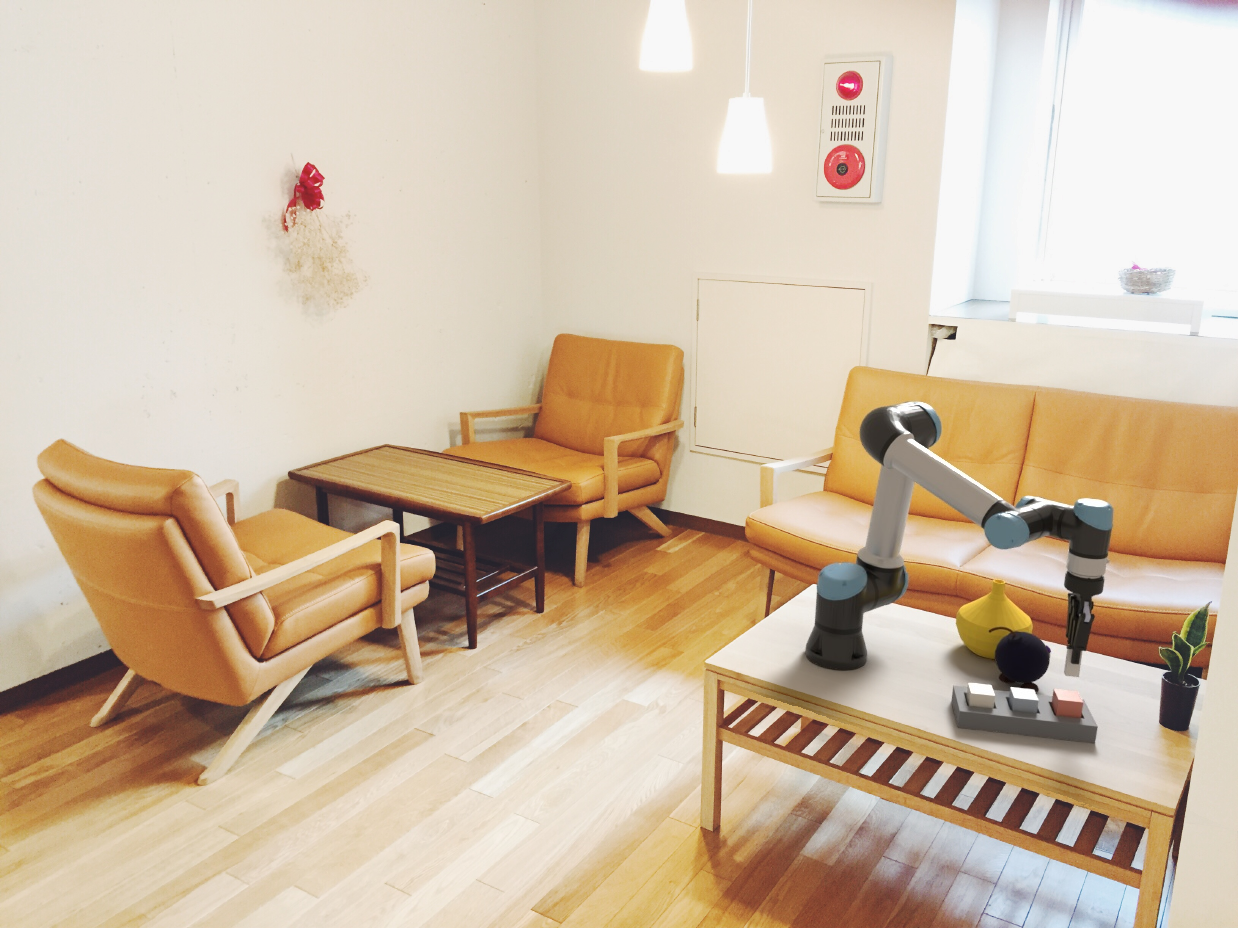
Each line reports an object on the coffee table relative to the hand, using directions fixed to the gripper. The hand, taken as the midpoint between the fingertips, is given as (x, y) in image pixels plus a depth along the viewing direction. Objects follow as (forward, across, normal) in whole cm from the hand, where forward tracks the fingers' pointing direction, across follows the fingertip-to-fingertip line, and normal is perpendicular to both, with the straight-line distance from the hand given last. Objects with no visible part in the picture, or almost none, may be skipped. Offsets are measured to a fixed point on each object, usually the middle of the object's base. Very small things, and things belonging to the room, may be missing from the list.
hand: (1071, 674), depth 212 cm
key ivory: (+10, 0, +18) cm, 20 cm away
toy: (+13, +18, +7) cm, 23 cm away
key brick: (+9, 0, 0) cm, 9 cm away
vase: (+13, +36, +10) cm, 40 cm away
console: (+13, 0, +9) cm, 15 cm away
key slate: (+10, 0, +9) cm, 13 cm away
